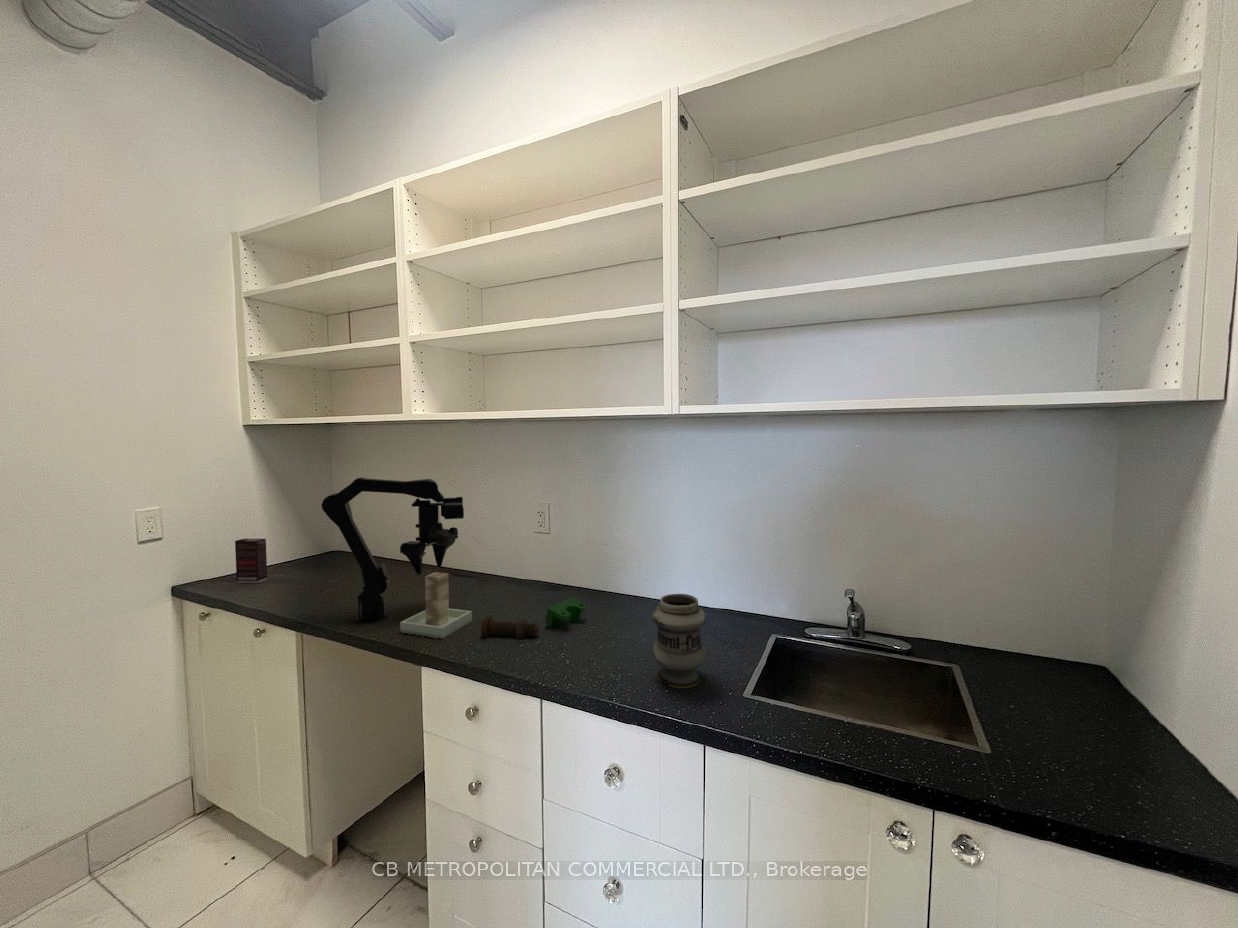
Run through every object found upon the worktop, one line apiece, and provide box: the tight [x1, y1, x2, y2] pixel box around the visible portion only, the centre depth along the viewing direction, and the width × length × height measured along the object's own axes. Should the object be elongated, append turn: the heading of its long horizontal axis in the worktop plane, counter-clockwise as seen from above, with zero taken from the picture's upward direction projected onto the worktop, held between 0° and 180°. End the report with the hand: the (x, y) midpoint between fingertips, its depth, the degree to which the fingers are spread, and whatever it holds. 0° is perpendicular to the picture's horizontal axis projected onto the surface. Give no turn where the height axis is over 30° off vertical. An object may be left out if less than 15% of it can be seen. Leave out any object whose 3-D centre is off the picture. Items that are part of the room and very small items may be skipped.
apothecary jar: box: [651, 593, 707, 689], centre depth 110 cm, size 12×12×18 cm
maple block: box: [424, 572, 450, 626], centre depth 139 cm, size 4×4×14 cm
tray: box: [399, 608, 473, 640], centre depth 139 cm, size 14×14×3 cm
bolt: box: [480, 615, 540, 639], centre depth 133 cm, size 6×5×15 cm
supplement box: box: [234, 538, 268, 584], centre depth 183 cm, size 9×5×16 cm, turn 88°
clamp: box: [545, 597, 587, 629], centre depth 142 cm, size 12×6×9 cm, turn 141°
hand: (429, 570), depth 151 cm, fingers open, 9 cm apart
